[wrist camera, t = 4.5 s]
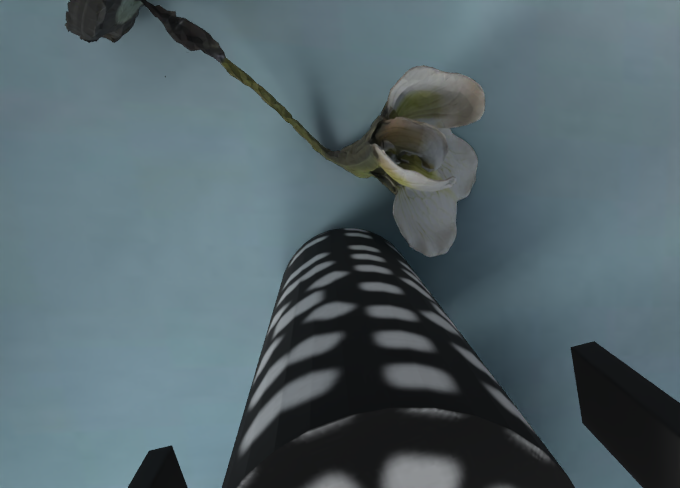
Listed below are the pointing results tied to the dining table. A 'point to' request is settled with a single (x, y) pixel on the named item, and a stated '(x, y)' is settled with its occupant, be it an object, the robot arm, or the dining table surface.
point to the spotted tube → (376, 386)
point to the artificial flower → (376, 145)
